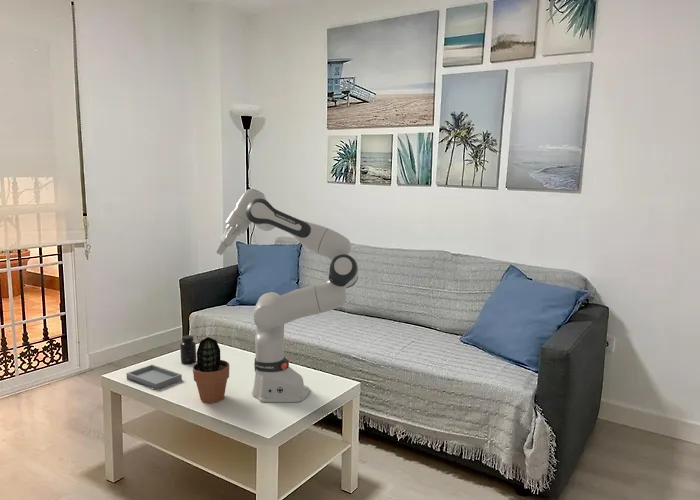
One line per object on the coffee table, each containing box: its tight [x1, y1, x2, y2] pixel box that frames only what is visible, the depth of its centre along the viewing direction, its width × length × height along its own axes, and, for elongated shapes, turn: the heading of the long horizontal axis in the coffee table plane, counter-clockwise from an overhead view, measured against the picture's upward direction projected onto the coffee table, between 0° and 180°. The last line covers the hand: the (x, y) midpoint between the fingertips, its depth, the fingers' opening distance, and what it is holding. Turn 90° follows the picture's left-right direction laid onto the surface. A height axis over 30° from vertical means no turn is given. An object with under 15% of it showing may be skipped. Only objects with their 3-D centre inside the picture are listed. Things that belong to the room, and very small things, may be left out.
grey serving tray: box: [126, 364, 183, 391], centre depth 225 cm, size 20×12×2 cm, turn 55°
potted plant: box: [192, 336, 230, 404], centre depth 205 cm, size 14×14×25 cm
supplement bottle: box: [179, 334, 197, 365], centre depth 245 cm, size 7×7×12 cm
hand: (218, 254), depth 216 cm, fingers open, 8 cm apart
